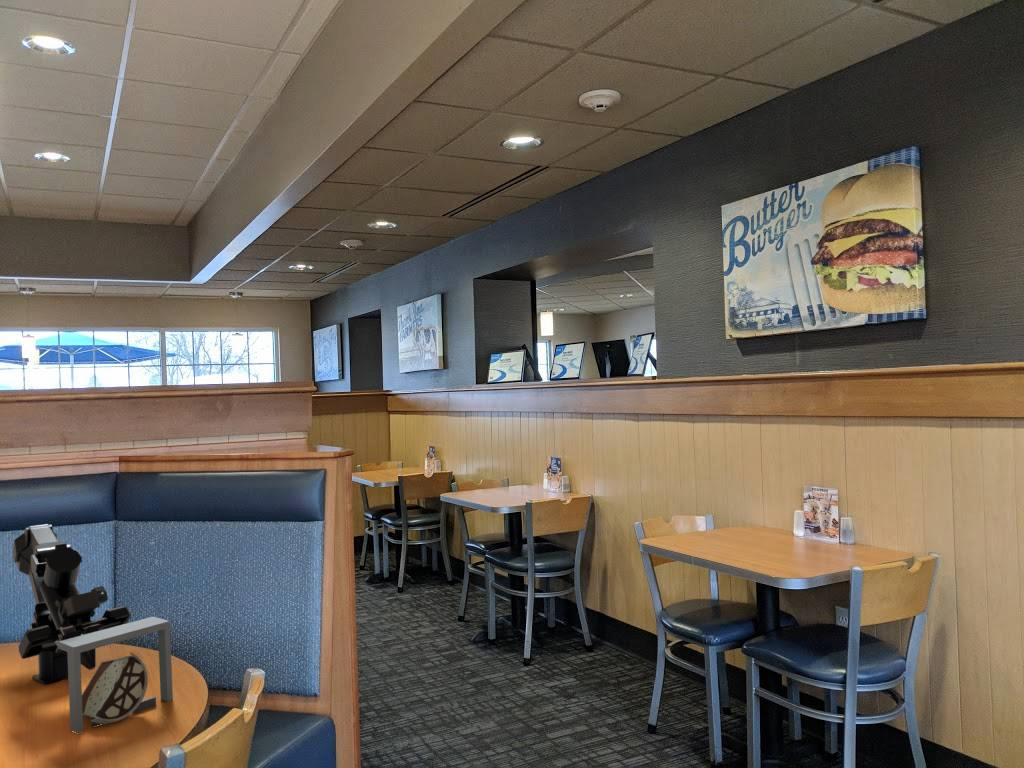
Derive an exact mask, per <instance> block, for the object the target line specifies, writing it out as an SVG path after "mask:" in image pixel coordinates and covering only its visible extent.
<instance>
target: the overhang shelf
mask: <svg viewBox="0 0 1024 768" xmlns="http://www.w3.org/2000/svg"><path fill="white" fill-rule="evenodd" d="M170 624H171V621H170V620H167V619H164V618H161V617H156V616H150V617H147V618H142V619H140V620H139V619H138V620H134V621H131V622H127V624H123V625H119V626H115V627H112V628H108V629H104V630H100V631H96V632H93V633H89V634H85V635H81V636H78V637H74V638H70V639H66V640H62V641H59V642H58V649H61V650H63V651H66V652H67V657H68V677H67V679H68V681H67V682H68V698H69V699H68V700H69V701H68V702H69V704H68V705H69V726H70V729H71V730H72V731H74V732H76V733H80V734H82V733H81V732H83V733H84V716H83V711H82V694H83V689H82V670H81V669H82V667H81V665H82V664H81V662H80V653H81V652H85V651H88V650H92V649H99V648H102V647H106V646H108V645H109V646H110V645H113V644H117V643H120V642H123V641H127V640H130V639H134V638H137V637H142V636H145V635H148V634H152V633H156V632H157V641H158V643H157V644H158V665H159V685H160V686H159V687H160V689H159V690H160V700H161V699H162V701H165V702H167V703H168V702H172V701H174V696H173V694H174V693H173V692H174V691H173V673H172V672H173V670H172V669H173V667H172V648H171V647H172V646H171V625H170ZM156 706H157V697H156V696H154V695H152V696H149V697H146V698H143V700H142V701H141V703H140V704H139V706H138V707H137V708H136V709H135V710H134V711H133V712H134V713H133V712H132V713H133V714H136V713H138V712H141V711H144V710H148V709H150V708H152V707H156ZM135 712H136V713H135ZM90 718H91V719H90V721H91V720H94V719H96V718H92V717H90ZM92 725H93V726H97V725H100V724H99V723H95V722H92V721H91V726H92ZM100 726H101V725H100ZM97 727H98V726H97Z"/></svg>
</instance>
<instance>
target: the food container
mask: <svg viewBox="0 0 1024 768" xmlns="http://www.w3.org/2000/svg"><path fill="white" fill-rule="evenodd" d="M129 654H130V655H126V656H122V657H118V658H112V659H107V660H102V661H101V662H100V663H99V665H98V667H97V668H96V670H95V672H94V674H93V676H92V677H91V679H90V680H89V682H88V684H87V685H86V687H85V689H84V690H83V691H82V711H83V717H88V718H91V717H92V718H96V719H94V720H91V719H90V721H92V722H95V723H99V724H103V725H108V724H113V723H115V722H118V721H121V720H123V719H125V718H127V717H128V716H130V715H131V714H132V713H133V711H134V710H135V709H136V708H137V707H138V706H139V704H140V703H141V701H142V700H143V699H145V698H144V697H145V695H146V691H147V689H148V682H149V681H148V680H149V678H148V671H147V668H146V666H145V663H144V662H143V660H142V659H141V658H140V657H139V656H138V655H136V654H135V653H133V652H129ZM92 722H91V723H92Z"/></svg>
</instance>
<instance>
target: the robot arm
mask: <svg viewBox="0 0 1024 768" xmlns="http://www.w3.org/2000/svg"><path fill="white" fill-rule="evenodd" d="M82 557H83V556H82V555H81V554H80V553H79V551H77V550H76V549H75V548H72V545H71V544H70V543H68V542H66V541H65V542H63V541H59V539H58V534H57V533H55V532H54V528H53V526H52V524H49V523H46V524H43V523H42V524H35V525H29V526H28V527H25V529H24V532H23V533H22V534H21V535H19V536H18V537H17V538H15V539H14V540H13V546H12V560H13V563H14V564H17V569H18V571H19V572H20V573H22V574H24V575H27V576H28V577H29V581H30V585H31V589H32V593H33V598H34V601H35V602H34V603H35V606H34V611H33V616H32V618H33V619H32V622H31V623H30V624H29V629H27V630H26V631H25V633H24V634H23V637H22V639H21V641H20V643H19V645H18V652H19V655H20V658H21V659H23V660H25V659H29V658H31V657H36V656H37V657H38V673H37V674H34V675H31V678H32V680H34V681H37V682H39V683H42V684H45V685H47V684H51V683H53V682H57V681H60V680H64V679H68V657H67V652H66V651H63V650H61V649H58V642H59V641H62V640H66V639H70V638H74V637H78V636H81V635H85V634H89V633H93V632H96V631H100V630H104V629H108V628H112V627H115V626H119V625H123V624H127V623H129V620H130V619H131V616H132V614H131V612H130V610H129V608H128V607H127V606H124V605H121V606H117V607H113V608H110V609H109V608H108V609H105V611H104V613H103V615H102V617H101V618H97V619H93V620H91V618H92V617H94V616H95V614H96V612H95V611H96V609H98V608H100V607H101V605H102V604H104V603H106V602H107V601H108V599H109V596H108V592H107V589H106V588H105V587H104V585H100V586H96V587H93V588H92V589H91V590H90V591H89V592H88V591H87V592H83V593H80V592H79V590H78V588H77V586H76V582H77V580H78V576H79V572H80V567H81V563H83V558H82ZM96 650H97V648H95V649H92V650H88V651H85V652H81V653H80V662H81V665H82V666H83V667H84V668H86V669H87V670H89V671H93V670H94V669H95V668H96V665H97V664H96V663H97V662H96V654H97V653H96Z"/></svg>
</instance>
